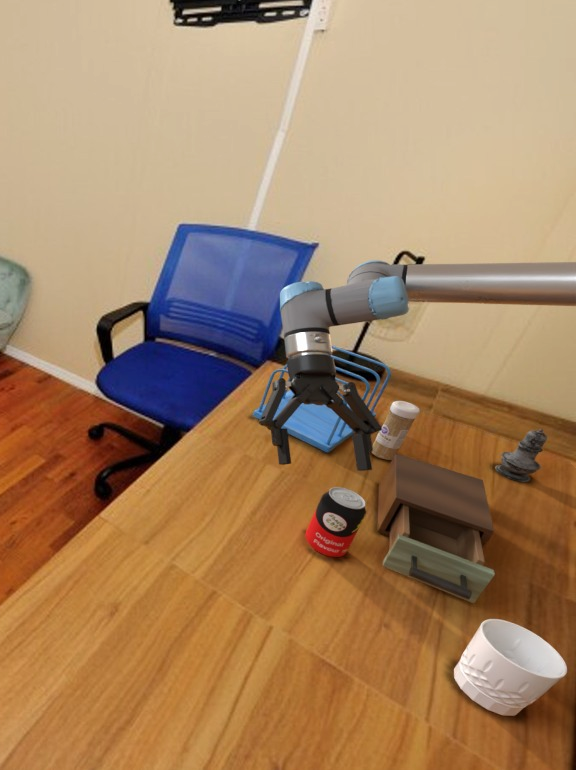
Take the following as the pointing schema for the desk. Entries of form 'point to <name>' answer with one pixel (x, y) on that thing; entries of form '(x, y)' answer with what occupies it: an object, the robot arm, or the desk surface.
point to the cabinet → (433, 495)
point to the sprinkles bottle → (394, 429)
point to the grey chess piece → (523, 457)
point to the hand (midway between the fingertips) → (324, 467)
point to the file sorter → (322, 411)
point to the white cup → (507, 667)
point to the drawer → (437, 553)
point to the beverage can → (336, 521)
